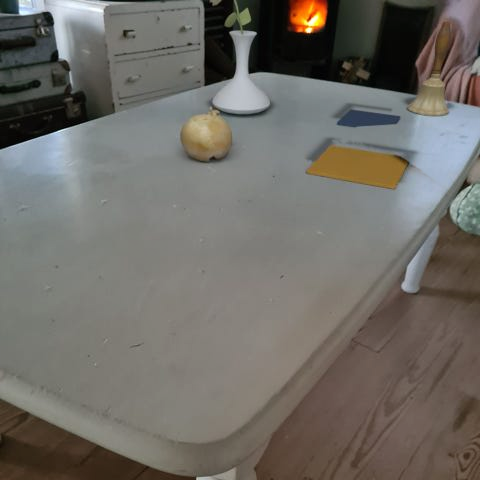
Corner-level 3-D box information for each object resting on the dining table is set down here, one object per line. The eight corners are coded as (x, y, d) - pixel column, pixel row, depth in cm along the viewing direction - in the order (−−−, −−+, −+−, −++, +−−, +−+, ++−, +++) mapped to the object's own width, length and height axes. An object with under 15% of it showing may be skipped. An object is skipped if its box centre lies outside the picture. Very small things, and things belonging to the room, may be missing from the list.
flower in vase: (238, 100, 109) (241, -44, 94) (281, 111, 103) (291, -41, 88) (194, 112, 101) (190, -44, 86) (238, 124, 95) (242, -41, 80)
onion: (228, 167, 77) (229, 118, 73) (176, 164, 78) (174, 115, 74) (234, 150, 84) (235, 104, 80) (186, 147, 84) (184, 101, 80)
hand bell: (425, 117, 102) (447, 25, 93) (398, 107, 108) (416, 19, 99) (457, 113, 105) (481, 24, 96) (429, 103, 111) (449, 18, 102)
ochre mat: (394, 189, 72) (395, 186, 72) (306, 173, 76) (306, 170, 76) (409, 160, 82) (410, 157, 82) (330, 148, 86) (331, 145, 86)
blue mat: (390, 132, 94) (390, 129, 94) (336, 124, 97) (337, 121, 97) (400, 118, 101) (400, 116, 101) (350, 111, 104) (350, 109, 104)
